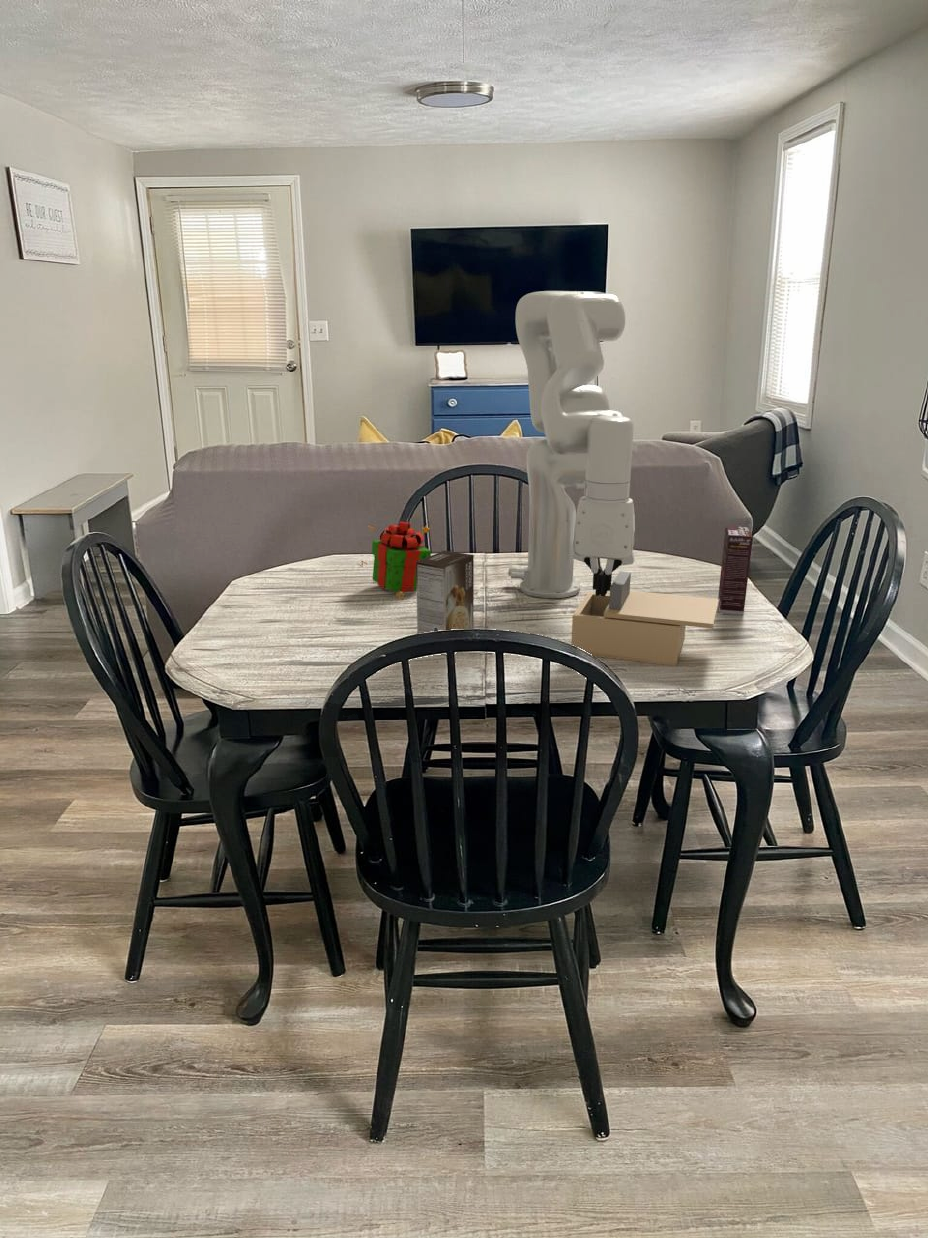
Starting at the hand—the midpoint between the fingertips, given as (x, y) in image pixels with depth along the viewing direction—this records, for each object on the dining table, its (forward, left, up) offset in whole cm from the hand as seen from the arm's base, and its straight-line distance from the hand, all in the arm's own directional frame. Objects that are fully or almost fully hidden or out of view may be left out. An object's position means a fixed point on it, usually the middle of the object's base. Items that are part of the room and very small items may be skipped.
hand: (601, 593), depth 163 cm
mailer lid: (+11, 0, -2) cm, 11 cm away
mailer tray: (+5, 0, -9) cm, 11 cm away
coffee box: (-26, -10, -9) cm, 29 cm away
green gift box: (-48, +21, -10) cm, 53 cm away
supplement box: (+21, +28, -9) cm, 37 cm away
